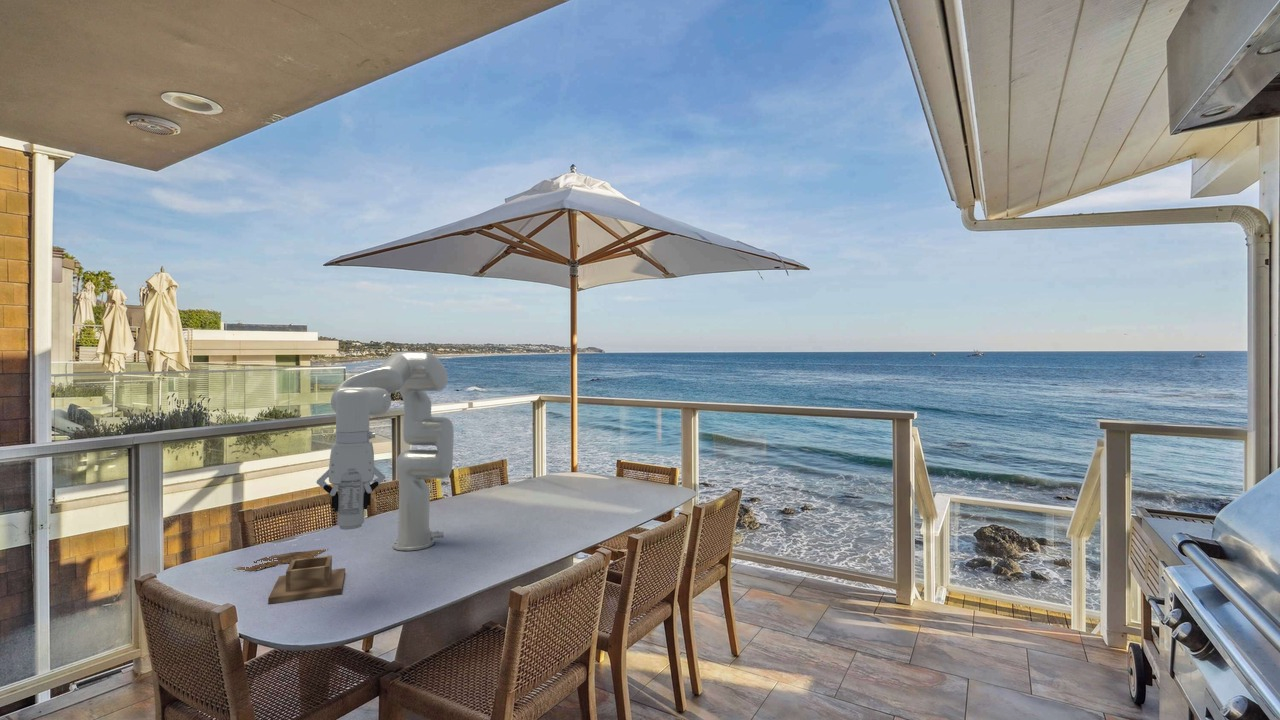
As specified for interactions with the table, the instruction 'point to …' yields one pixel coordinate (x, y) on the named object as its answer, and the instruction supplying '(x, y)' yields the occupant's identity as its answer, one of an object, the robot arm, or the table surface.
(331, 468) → the robot arm
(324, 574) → the slotted stand
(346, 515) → the energy drink can
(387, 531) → the table surface
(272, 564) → the wooden fragment
